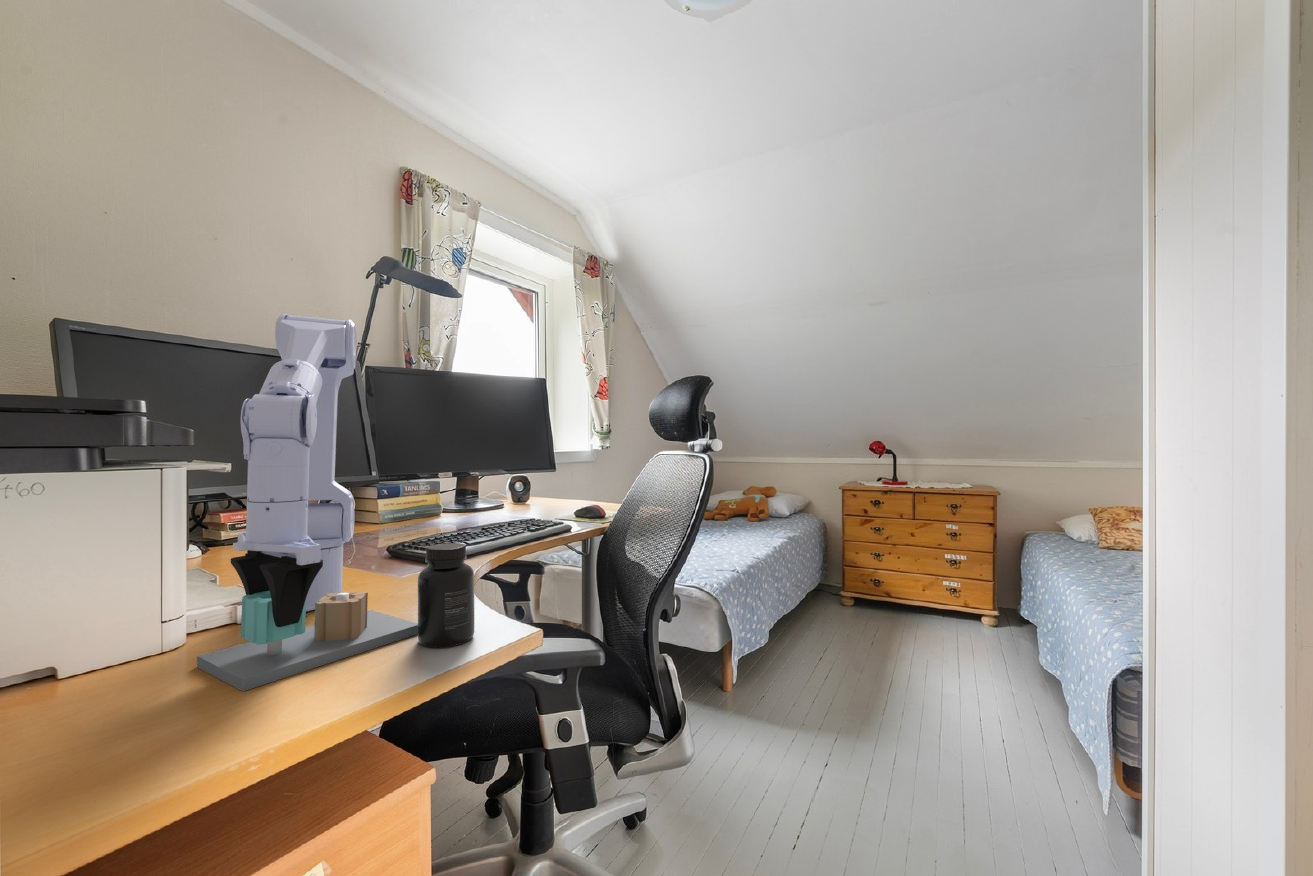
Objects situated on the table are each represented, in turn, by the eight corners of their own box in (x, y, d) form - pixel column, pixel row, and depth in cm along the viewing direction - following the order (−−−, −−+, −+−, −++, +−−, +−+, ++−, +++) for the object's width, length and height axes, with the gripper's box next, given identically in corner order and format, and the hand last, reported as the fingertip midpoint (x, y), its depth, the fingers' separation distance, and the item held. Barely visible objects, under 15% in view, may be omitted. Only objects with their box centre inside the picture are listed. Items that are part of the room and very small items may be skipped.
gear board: (196, 666, 60) (198, 611, 60) (371, 618, 77) (372, 575, 77) (242, 691, 54) (244, 630, 54) (419, 633, 71) (420, 587, 71)
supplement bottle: (477, 628, 73) (478, 540, 73) (470, 647, 66) (471, 550, 67) (424, 631, 72) (424, 542, 72) (411, 651, 65) (411, 552, 65)
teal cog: (238, 636, 60) (239, 596, 60) (286, 624, 64) (287, 586, 64) (259, 646, 57) (260, 604, 57) (307, 632, 62) (309, 593, 62)
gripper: (207, 498, 61) (204, 617, 61) (270, 508, 54) (266, 644, 54) (276, 494, 67) (273, 602, 67) (341, 502, 60) (338, 624, 60)
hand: (275, 620), depth 61 cm, fingers closed on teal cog, 5 cm apart
